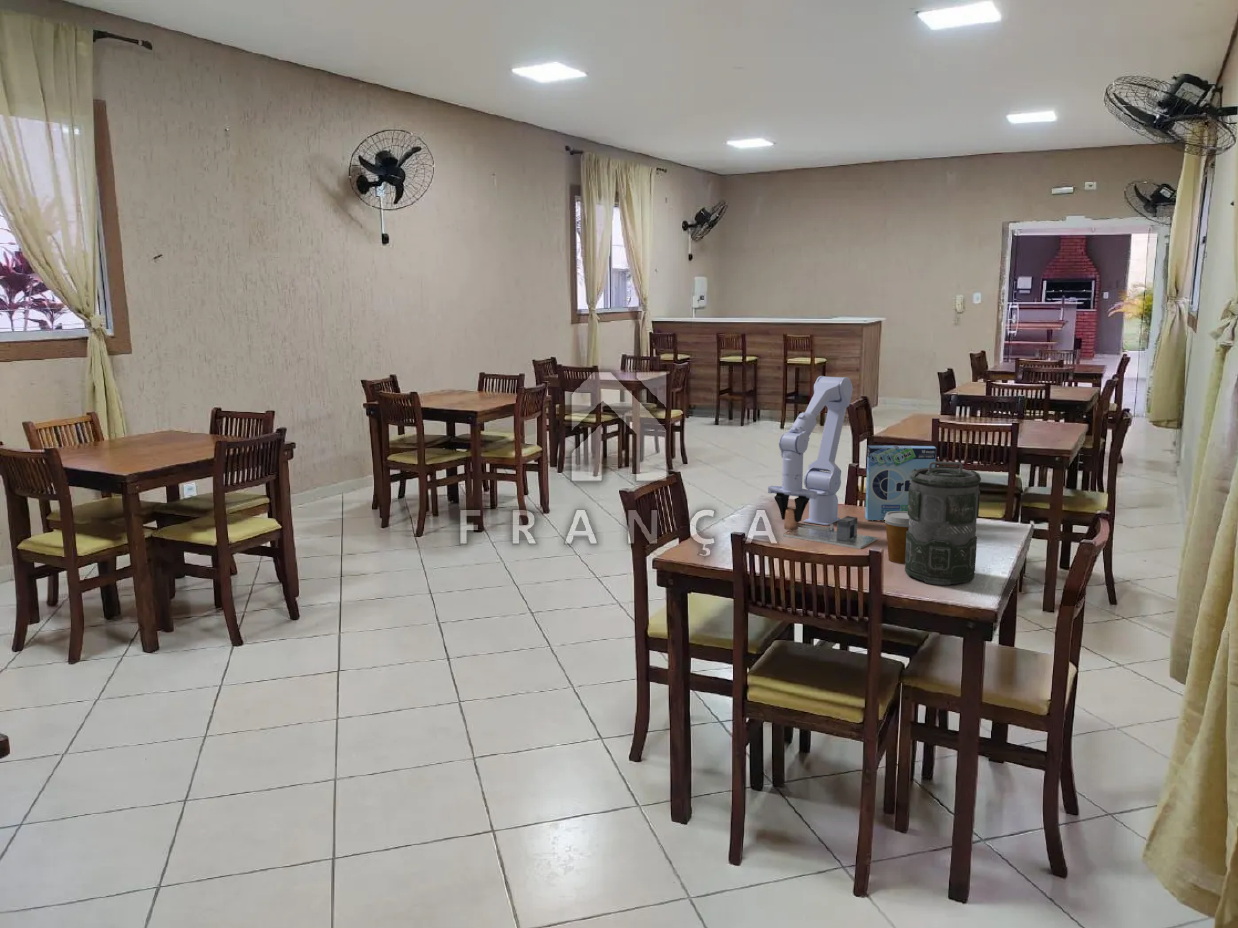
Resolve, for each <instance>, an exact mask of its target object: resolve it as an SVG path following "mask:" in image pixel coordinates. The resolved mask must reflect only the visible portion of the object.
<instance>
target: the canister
mask: <svg viewBox="0 0 1238 928" xmlns="http://www.w3.org/2000/svg"><path fill="white" fill-rule="evenodd" d="M932 464H935V467H933V468H932ZM941 465H942V466H941ZM943 465H944V466H943ZM945 465H946V466H945ZM948 465H949V466H948ZM950 465H952V466H950ZM957 466H959V467H957ZM963 467H964V466H963V464H962V462H959V461H958V462H957V461H936V462H930V464H929V468H921V469H917V470H916V469H913V470H912V471H911V472H910V478H911V479H912V480H911V486H910V487H909V493H908V515H909V530H908V531H907V532H906V551H905V564H904V572H905V574H907V576H908V577H910V578H911V579H913V578H914V579H915V580H920V581H923V582H924V583H925V584H930V585H935V586H936V585H938V586H951V585H956V584H962V583H963V584H964V583H965V582H971V581H973V580H974V578H975V574H976V573H975V571H976V561H977V560H976V557H977V546H978V545H977V544H978V536H976V531H977V519H978V518H979V513H980V512H979V510H980V500H981V499H980V498H981V497H980V496H981V491H980V489H979V488H980V486H979V484H980V483H981V482H982V477H981V475H980V473H979V472H977V471H975V470H973V469H971V470H967V469H964V468H963Z"/></svg>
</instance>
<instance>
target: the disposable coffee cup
mask: <svg viewBox="0 0 1238 928" xmlns="http://www.w3.org/2000/svg"><path fill="white" fill-rule="evenodd" d="M884 520H885V521H884V523H885V532H886V541H887V542H886V544H887V555H888V561H890V562H891V563H895V564H902V565H903V564H904V565H905V551H906V532H907V531H908V530H909V515H908V511H891V512H887V513H886V516H885V517H884Z"/></svg>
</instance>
